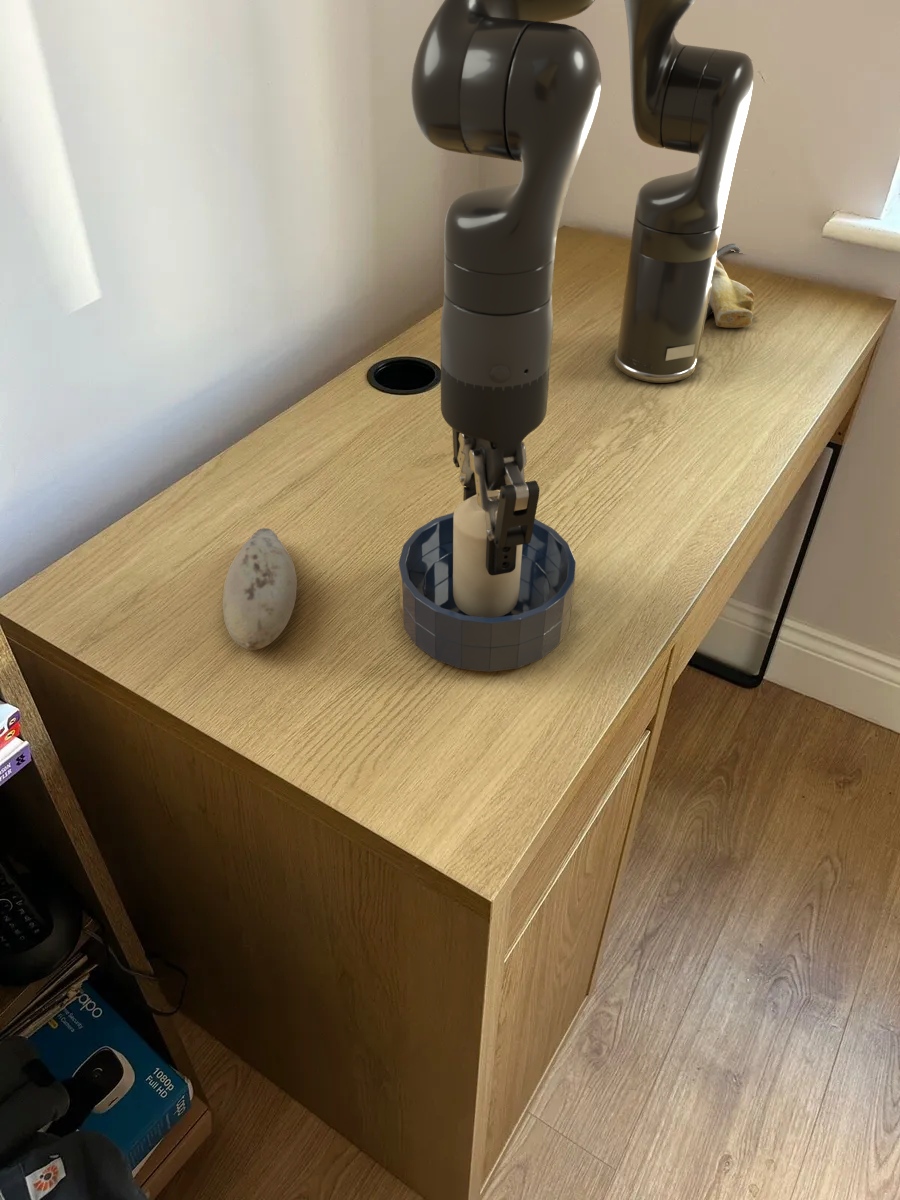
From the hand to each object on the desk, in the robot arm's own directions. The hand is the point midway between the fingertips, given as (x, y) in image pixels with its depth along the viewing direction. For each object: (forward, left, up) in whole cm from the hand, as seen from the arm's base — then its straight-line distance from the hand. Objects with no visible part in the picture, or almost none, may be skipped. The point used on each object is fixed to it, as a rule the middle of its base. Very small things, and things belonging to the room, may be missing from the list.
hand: (488, 546), depth 77 cm
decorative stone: (+12, -15, -8) cm, 21 cm away
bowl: (0, 0, -7) cm, 7 cm away
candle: (0, 0, -6) cm, 6 cm away
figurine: (-66, -18, -8) cm, 69 cm away
